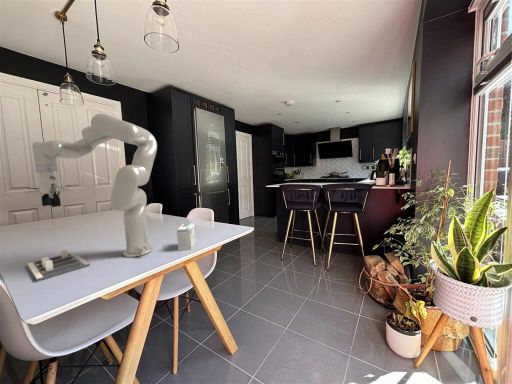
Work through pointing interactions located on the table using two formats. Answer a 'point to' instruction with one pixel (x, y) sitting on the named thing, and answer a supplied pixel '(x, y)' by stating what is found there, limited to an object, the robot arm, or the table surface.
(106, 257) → the table surface
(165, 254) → the table surface
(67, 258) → the switch board
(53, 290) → the table surface
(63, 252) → the tab
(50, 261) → the tab
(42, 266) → the tab
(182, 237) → the light bulb box
